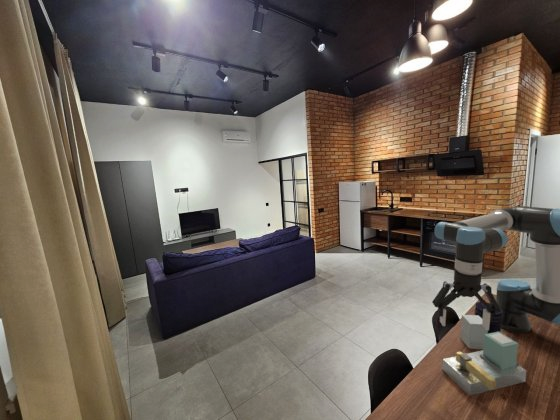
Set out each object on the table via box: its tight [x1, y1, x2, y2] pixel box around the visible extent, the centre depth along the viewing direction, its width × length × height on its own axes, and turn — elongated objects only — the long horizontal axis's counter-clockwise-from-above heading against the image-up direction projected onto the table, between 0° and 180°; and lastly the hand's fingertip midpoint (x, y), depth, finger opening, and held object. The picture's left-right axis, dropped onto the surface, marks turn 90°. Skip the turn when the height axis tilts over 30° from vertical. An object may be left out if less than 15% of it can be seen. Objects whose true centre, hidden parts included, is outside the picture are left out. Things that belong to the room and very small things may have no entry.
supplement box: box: [460, 314, 488, 350], centre depth 111 cm, size 7×7×13 cm
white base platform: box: [442, 349, 527, 396], centre depth 95 cm, size 25×12×6 cm, turn 99°
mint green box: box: [482, 331, 519, 369], centre depth 95 cm, size 7×7×10 cm
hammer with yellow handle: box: [455, 351, 496, 391], centre depth 89 cm, size 3×14×5 cm, turn 9°
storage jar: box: [474, 301, 502, 334], centre depth 115 cm, size 10×10×15 cm
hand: (463, 325), depth 86 cm, fingers open, 13 cm apart
